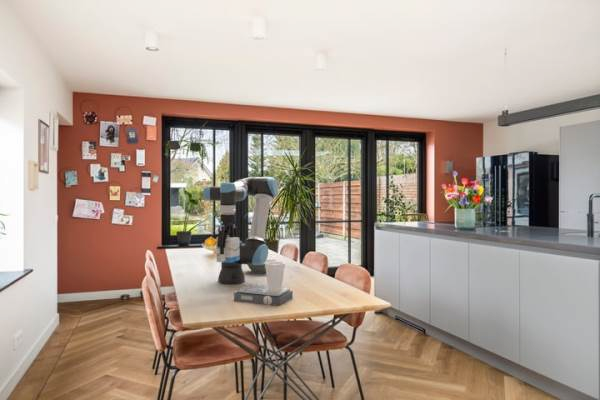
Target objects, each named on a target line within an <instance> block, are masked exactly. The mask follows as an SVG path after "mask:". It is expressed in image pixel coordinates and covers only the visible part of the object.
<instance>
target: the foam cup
mask: <svg viewBox="0 0 600 400" xmlns="http://www.w3.org/2000/svg"><path fill="white" fill-rule="evenodd" d="M265 268H266V273H265V275H266V283H267V286H268V291H272V292H277V291H281V289H282V287H283V280H284V275H285V268H286V263H285V262H284V261H276V260H275V261H272V262H266V263H265Z"/></svg>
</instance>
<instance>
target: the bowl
mask: <svg viewBox="0 0 600 400" xmlns="http://www.w3.org/2000/svg"><path fill="white" fill-rule="evenodd" d="M272 261H276V257H275V256H273V255H268V256H267V259H266V261H265V262H264V264H262V265H249V264H246V265H247V266H248V269H249V270H251V273H252V274H256V275H257V274H258V275H261V274H266V268H265V263H266V262H272Z"/></svg>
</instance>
